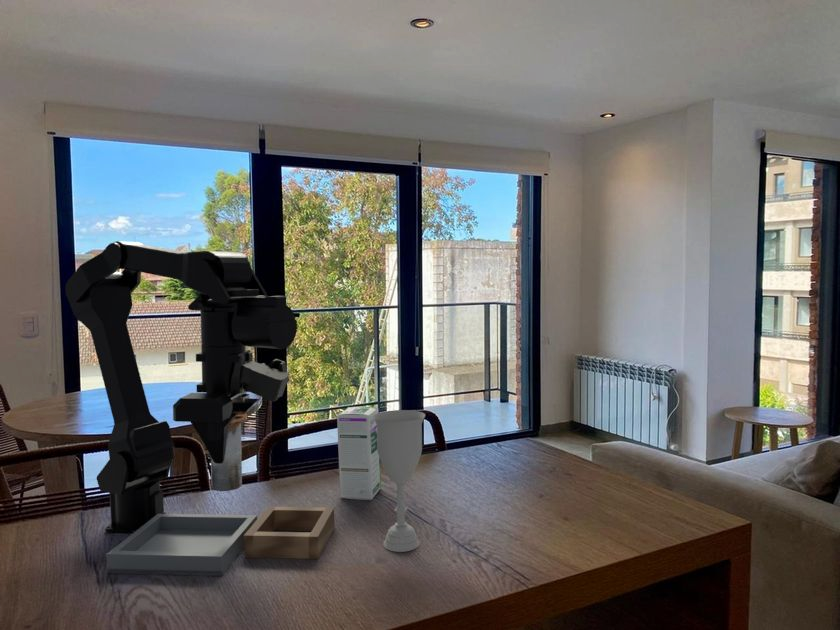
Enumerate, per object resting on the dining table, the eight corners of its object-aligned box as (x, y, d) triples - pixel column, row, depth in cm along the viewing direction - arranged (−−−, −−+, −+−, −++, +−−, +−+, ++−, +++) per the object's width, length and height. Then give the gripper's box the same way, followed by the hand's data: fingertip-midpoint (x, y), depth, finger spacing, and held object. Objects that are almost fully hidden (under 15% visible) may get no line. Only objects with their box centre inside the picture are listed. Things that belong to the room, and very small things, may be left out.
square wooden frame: (244, 557, 80) (243, 535, 80) (268, 526, 90) (268, 506, 90) (318, 558, 80) (317, 536, 80) (334, 527, 90) (334, 507, 89)
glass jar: (198, 492, 81) (196, 419, 80) (214, 478, 86) (213, 409, 85) (239, 493, 80) (238, 419, 80) (253, 479, 86) (252, 410, 85)
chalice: (387, 559, 79) (385, 424, 78) (367, 539, 85) (364, 414, 84) (436, 547, 83) (434, 417, 81) (413, 529, 89) (411, 408, 87)
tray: (107, 573, 77) (106, 554, 76) (158, 530, 90) (158, 513, 89) (222, 575, 76) (221, 556, 75) (257, 531, 88) (257, 515, 88)
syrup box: (372, 500, 100) (370, 414, 99) (338, 498, 101) (336, 413, 100) (381, 488, 106) (380, 406, 105) (349, 486, 107) (347, 405, 106)
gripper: (260, 355, 72) (262, 482, 73) (299, 337, 91) (300, 439, 92) (169, 353, 73) (172, 480, 74) (226, 336, 91) (228, 438, 92)
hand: (225, 457), depth 83 cm, fingers closed on glass jar, 5 cm apart
